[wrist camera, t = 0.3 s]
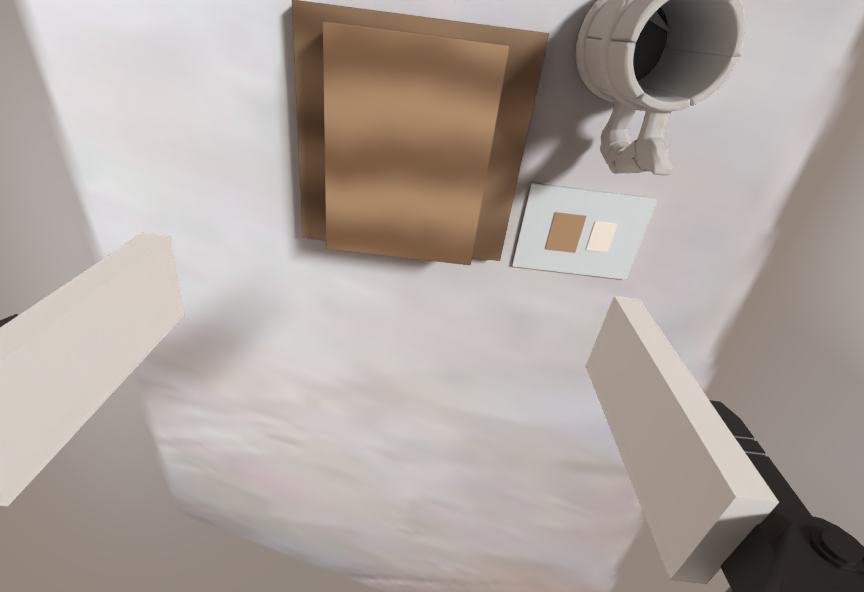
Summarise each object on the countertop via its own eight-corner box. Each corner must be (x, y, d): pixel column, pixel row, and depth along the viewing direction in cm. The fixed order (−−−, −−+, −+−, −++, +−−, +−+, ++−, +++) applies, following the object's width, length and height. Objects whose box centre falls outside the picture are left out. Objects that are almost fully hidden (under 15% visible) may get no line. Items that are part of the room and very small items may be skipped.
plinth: (298, 0, 32) (274, -3, 28) (545, 32, 32) (559, 34, 28) (307, 231, 41) (290, 254, 37) (498, 253, 42) (503, 279, 38)
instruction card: (531, 183, 38) (531, 184, 38) (656, 198, 38) (658, 199, 38) (512, 264, 42) (512, 266, 42) (625, 278, 43) (626, 280, 42)
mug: (696, -19, 30) (819, -40, 20) (643, 156, 37) (717, 208, 26) (585, -26, 30) (652, -50, 20) (551, 150, 37) (589, 199, 26)
